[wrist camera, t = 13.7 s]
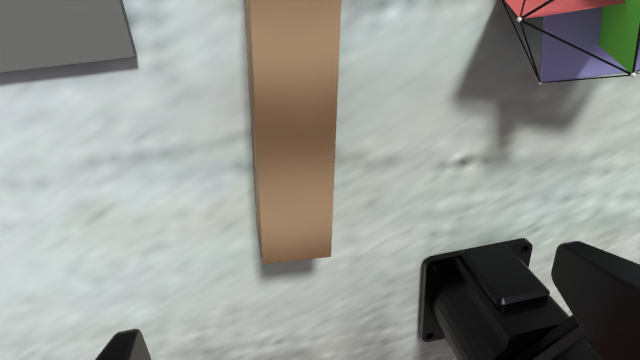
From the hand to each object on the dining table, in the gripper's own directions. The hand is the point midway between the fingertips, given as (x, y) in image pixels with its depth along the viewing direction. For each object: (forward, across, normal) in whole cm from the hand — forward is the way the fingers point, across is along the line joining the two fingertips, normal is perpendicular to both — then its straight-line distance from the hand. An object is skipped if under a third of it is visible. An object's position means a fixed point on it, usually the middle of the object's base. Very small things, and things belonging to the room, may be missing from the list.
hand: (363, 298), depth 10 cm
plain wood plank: (+12, 0, 0) cm, 12 cm away
